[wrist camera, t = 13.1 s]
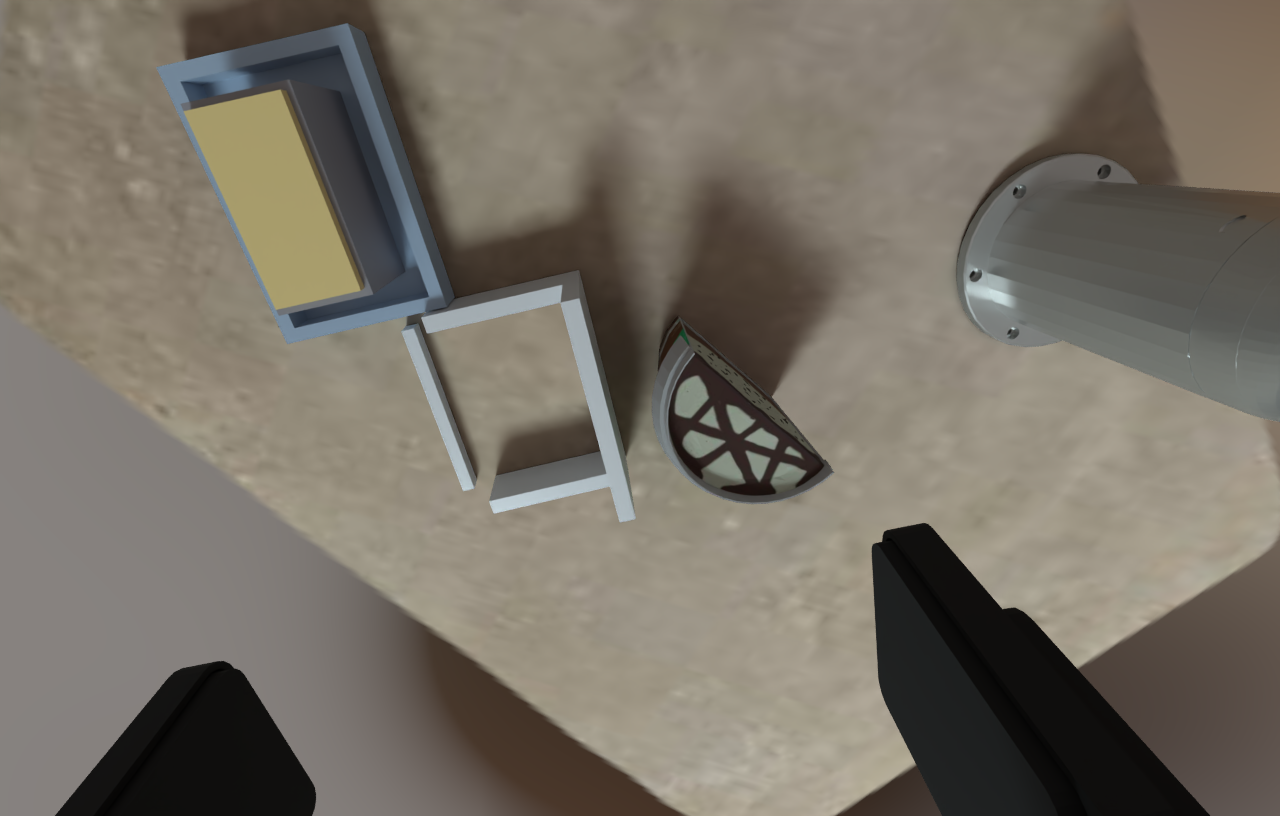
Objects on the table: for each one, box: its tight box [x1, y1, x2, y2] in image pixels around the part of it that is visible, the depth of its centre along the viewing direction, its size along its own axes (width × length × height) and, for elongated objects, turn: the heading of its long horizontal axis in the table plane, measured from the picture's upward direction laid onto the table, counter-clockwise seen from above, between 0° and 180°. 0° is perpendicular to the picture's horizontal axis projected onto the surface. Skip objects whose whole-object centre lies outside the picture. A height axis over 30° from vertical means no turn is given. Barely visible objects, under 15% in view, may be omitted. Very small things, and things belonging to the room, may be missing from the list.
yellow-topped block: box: [181, 80, 405, 316], centre depth 32 cm, size 5×10×7 cm, turn 12°
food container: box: [652, 316, 834, 504], centre depth 38 cm, size 12×6×10 cm, turn 48°
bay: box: [401, 270, 636, 522], centre depth 38 cm, size 12×14×8 cm
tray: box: [156, 23, 455, 344], centre depth 34 cm, size 10×15×3 cm, turn 12°
